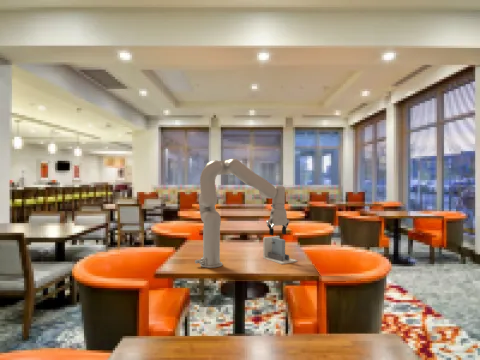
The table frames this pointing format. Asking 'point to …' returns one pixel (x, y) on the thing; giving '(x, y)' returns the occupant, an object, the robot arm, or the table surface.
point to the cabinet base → (271, 256)
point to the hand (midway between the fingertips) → (277, 234)
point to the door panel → (278, 247)
